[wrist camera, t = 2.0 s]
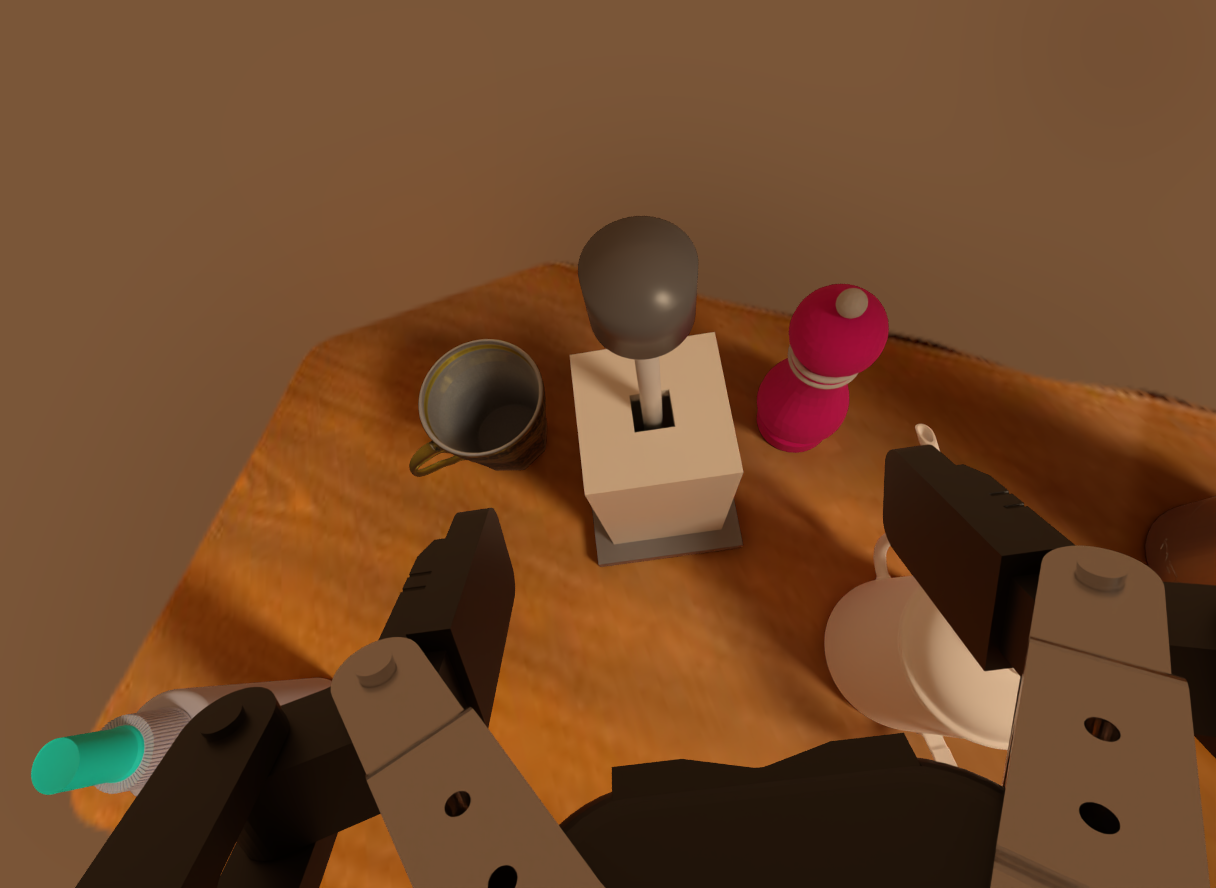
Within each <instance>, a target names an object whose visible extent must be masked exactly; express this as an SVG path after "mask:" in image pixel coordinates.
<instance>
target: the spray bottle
mask: <svg viewBox="0 0 1216 888" xmlns="http://www.w3.org/2000/svg"><path fill="white" fill-rule="evenodd" d="M331 683H332V681H331V680H328V679H325V678H306V679H294V680H282V681H269V682H257V683H245V684H233V685H221V686H208V687H196V688H184V689H174V690H170V691H166V692H163V693H161V694H159V695H157V696H156V697H154V698H152V699H151V700H149V701H148V702H147V703H146V704H145V705H143V706H142V707H141V708H140V709H139V711H138V712H137V713H134V714H128V715H123V716H120V717H118V718H115V719H114V720H111V722H108V724H106V725H105V727H103V728H102V730H100V731H97V732H92V733H86V734H80V735H74V736H68V737H62V738H57V739H54V740H52V741H50V742H49V743H47V744H46V745H45V746H44V747H43V748H42V749H41V750H40V751H39V753H38V754H37V756H36V758H35V760H34V763H33V766H32V772H31V773H32V774H31V777H32V782H33V785H34V787H35V789H36V790H37V791H39V792H40V793H42V794H47V795H50V794H55V793H60V792H65V791H70V790H74V789H79V788H84V787H89V786H93V785H94V786H95V787H97V789H99V790H100V791H102V792H105V793H109V794H110V793H111V794H114V793H120V792H125V791H130V792H131V793H133V794H134V795H135V796H136V797H137V796H138V794H139V793H140V791H141V790H142V788H143V787H144V785H145V784H146V782H147V781H148V779H149V778H150V776H151V775H152V773H153V772H154V770H155V769H156V767H157V766H158V764H159V763H160V762H161V760H162V759H163V757H164V756H165V754H166V753H167V751H168V750H169V748H170V747H171V745H172V744H173V742H174V741H175V739H176V738H177V736H178V735H179V733H180V732H181V731H182V729H183V728H184V727H185V726H186V724H187V723H188V722H189V721H190V720H191V719H192V718H193V717H194V716H195V715H197V714H198V713H199V712H200V711H201V710H203V709H204V708H205V707H207V706H208V705H209V704H211V703H213V702H214V701H216V700H217V699H219V698H221V697H223V696H225V695H227V694H229V693H232V692H234V691H237V690H240V689H244V688H249V687H263V688H267V689H269V690H270V691H272V692H273V694H274V695H275V697H276V699H277V700H278V702H279V704H280V706H281V705H284V704H287V703H289V702H292V701H295V700H297V699H300V698H303V697H305V696H308V695H311V694H313V693H316V692H318V691H321V690H324V689H326V688H328V687H331Z"/></svg>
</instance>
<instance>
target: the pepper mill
mask: <svg viewBox="0 0 1216 888" xmlns="http://www.w3.org/2000/svg"><path fill="white" fill-rule="evenodd" d="M888 327H889V326H888V318H887V315H886V312H885V309H884V307H883V306H882V304H881V303H880V301H879V300H878V299H877V298H876V297H875V296H874V295H873V294H871V293H870V292H868V291H867V290H865V289H863V288H860V287H858V286H854V285H850V284H832V285H829V286H825V287H822V288H819V289H818V290H815V291H814V292H812V293H811V294H809V295H808V296H807V297H806V298H805V299H804V300H803V301H802V302H801V303H800V304H799V306H798V307H797V309H796V311H795V312H794V314H793V316H792V319H791V322H790V326H789V340H790V345H789V349H788V358H787V359H785V360H783V361H781V362H779V363H778V364H777V365H776V366H774V367H773V368H772V369H771V370H770V371H769V372H768V373H767V375H766V376H765V378H764V380H763V381H762V383H761V385H760V387H759V390H758V394H757V408H758V412H757V425H758V428H759V431H760V433H761V434H762V436H763V437H764V439H765V440H766V441H767V442H768V443H769V444H771V445H772V446H774V447H775V448H777V449H780V450H782V451H786V452H795V453H796V452H804V451H807V450H810V449H812V448H814V447H815V446H817V445H818V444H819V443H820V442H821V441H822V440H823V439H825V438H827V437H829V436H830V435H832V434H833V433H834V432H835V431H836V430H837V429H838V428H839V427H840V425H841V424H842V422H843V420H844V418H845V416H846V413H847V411H848V407H849V389H848V383H849V382H851V381H852V380H853V379H854V378H855V377H856V376H857V374H858V373H859V372H862V371H863V370H865V369H866V368H868V367H869V366H871V365H872V364H873V363H874V362H875V360H876V359H877V358H878V357H879V356H880V354H881V353H882V351H883V349H884V347H885V344H886V341H887V339H888V331H889V328H888Z"/></svg>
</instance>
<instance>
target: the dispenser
mask: <svg viewBox="0 0 1216 888" xmlns="http://www.w3.org/2000/svg"><path fill="white" fill-rule="evenodd" d="M659 362H660V380H661V397H662V415H663V428H662V429H655V430H649V431H645V430H644V423H643V416H642V409H641V402H640V395H639V388H638V381H637V374H636V367H635V360H634V359H628V358H624V357H621V356H619V355H616V354H614V353H612V352H611V351H609V350H608V349H605V350H598V351H592V352H586V353H579V354H573V355H570V364H571V373H572V382H573V391H574V400H575V409H576V419H577V428H578V437H579V446H580V455H581V464H582V474H583V483H584V492H585V496H586V498H587V500H588V501H589V503H590V505H591V506H592V512H593V520H594V529H595V538H596V547H597V556H598V565H599V566H600V567H604V566H612V565H619V564H627V563H634V562H641V561H649V560H656V559H663V558H671V557H678V556H685V555H693V554H700V553H707V552H715V551H722V550H729V549H737V548H741V547H742V546H743V542H742V537H741V532H740V527H739V522H738V516H737V511H736V506H735V501H734V495H735V493H736V490H737V488H738V485H739V482H740V480H741V477H742V475H743V468H742V463H741V458H740V453H739V448H738V443H737V439H736V434H735V429H734V424H733V419H732V414H731V409H730V404H729V400H728V395H727V390H726V385H725V380H724V375H723V370H722V365H721V360H720V356H719V351H718V346H717V341H716V336H715V332H711V333H705V334H699V335H693V336H687V337H686V339H685V340H684V341H683V342H682V343H681V344H680V345H679V346H678V347H677V348H675V349H674V350H672V351H671V352H669V353H667V354H665V355H662V356H659Z"/></svg>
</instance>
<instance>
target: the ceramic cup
mask: <svg viewBox="0 0 1216 888" xmlns="http://www.w3.org/2000/svg"><path fill="white" fill-rule="evenodd" d="M418 406H419V416H420V420H421V423H422V425H423V428H424V430H425V431H426V433H427V434H428V436H429V437H430V438H431V439H432V440H433V441H431V442H429V443H427V444H425V445H424V446H422V447H421V448H420V449H419V450H418V451H417V452H416V453H415V454H414V455H413V457H412V459H411V461H410V465H409V467H410V471H411V473H412V474H413V475H414V476H417V477H421V476H425V475H428V474H430V473H433V472H435V471H437V470H439V469H441V468H443V467H446V466H449V465H452V464H455V463H457V462H459V461H462V460H469V461H472V462H476V463H479V464H481V465H484V466H487V467H489V468H492V469H494V470H524V469H526V468H527V467H528V466H529V465H530V464H531V463H532V462H533V461H534V460H535V459H536V458H537V457H538V456H539V455H540V454H542V453H543V452H544V451H545V448H546V428H547V422H546V413H545V407H546V404H545V389H544V384H543V380H542V376H541V373H540V371H539V369H538V367H537V365H536V363H535V362H534V361H533V359H532V358H531V357H530V356H529V355H528V354H527V353H526V352H525V351H523V350H522V349H521V348H519V347H517V346H516V345H513V344H511V343H509V342H506V341H502V340H495V339H480V340H475V341H470V342H467V343H464V344H461V345H459V346H457V347H455V348H453V349H452V350H450V351H449V352H447V353H446V354H444V355H443V356H442V357H441V358H440V359H439V360H438V361H437V362H436V363H435V364H434V365H433V366H432V368H431V369H430V371H429V372H428V374H427V375H426V377H425V379H424V381H423V384H422V386H421V390H420V394H419V402H418ZM440 453H451V454H453V455H455V456H453V457H451V458H448V459H445V460H441V461H439V462H437V463H434V464H432V465H430V466H428V467H426V468H423V469H420V470H418V468H419V467H420V466H421V465H422V464H424V463H425V462H427V461H428V460H430V459H431V458H433V457H434V456H436V455H438V454H440Z"/></svg>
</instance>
